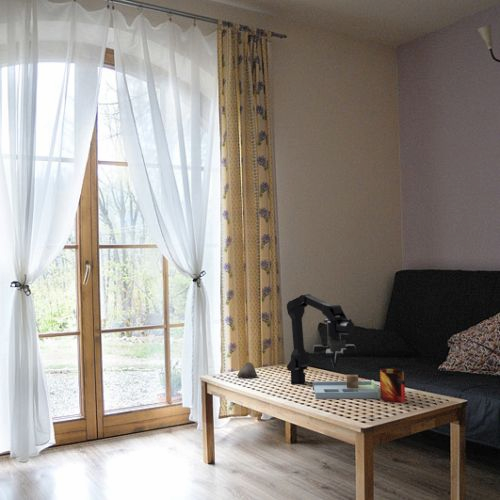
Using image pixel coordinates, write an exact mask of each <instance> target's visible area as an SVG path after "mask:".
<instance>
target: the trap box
mask: <svg viewBox="0 0 500 500" xmlns="http://www.w3.org/2000/svg"><path fill="white" fill-rule="evenodd" d="M358 387H359V388H347V382H346V380H344V381H342V380H338V381H336V380H335V381H334V380H333V381H327V380H326V381H324V380H323V381H312V390H313V391H314V394H315V395H314V396H315V397H314V398H315V399H325V400H326V399H329V400H330V399H331V400H332V399H333V400H334V399H381V395H380V386H379V385H378V384H377V383H376V381H375V380H374V379H371V380H358Z"/></svg>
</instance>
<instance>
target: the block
mask: <svg viewBox="0 0 500 500" xmlns="http://www.w3.org/2000/svg"><path fill="white" fill-rule="evenodd" d="M345 378H346V379H345V381H346V382H347V388H359V387H358V381H359V375H358V374H346V377H345Z"/></svg>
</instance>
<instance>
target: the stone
mask: <svg viewBox="0 0 500 500" xmlns="http://www.w3.org/2000/svg"><path fill="white" fill-rule="evenodd" d="M257 376H258V374H257V371H256V369H255V366H254V364H253V363H252V362H246V363H245V364H243V365H242V366H241V368H239V371H238V372H237V378H239V379H243V378H257Z"/></svg>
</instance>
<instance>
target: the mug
mask: <svg viewBox="0 0 500 500" xmlns="http://www.w3.org/2000/svg"><path fill="white" fill-rule="evenodd" d="M404 375H405V374H404V370H402V369H398V368H397V369H395V368H384V369H380V370H379V379H380V380H379V384H380V385H379V388H380V400H381V401H382V402H384V403H393V404H394V403H395V404H396V403H406V391H405V390H406V387H405V382H406V381H405V379H404V378H405V376H404Z"/></svg>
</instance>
